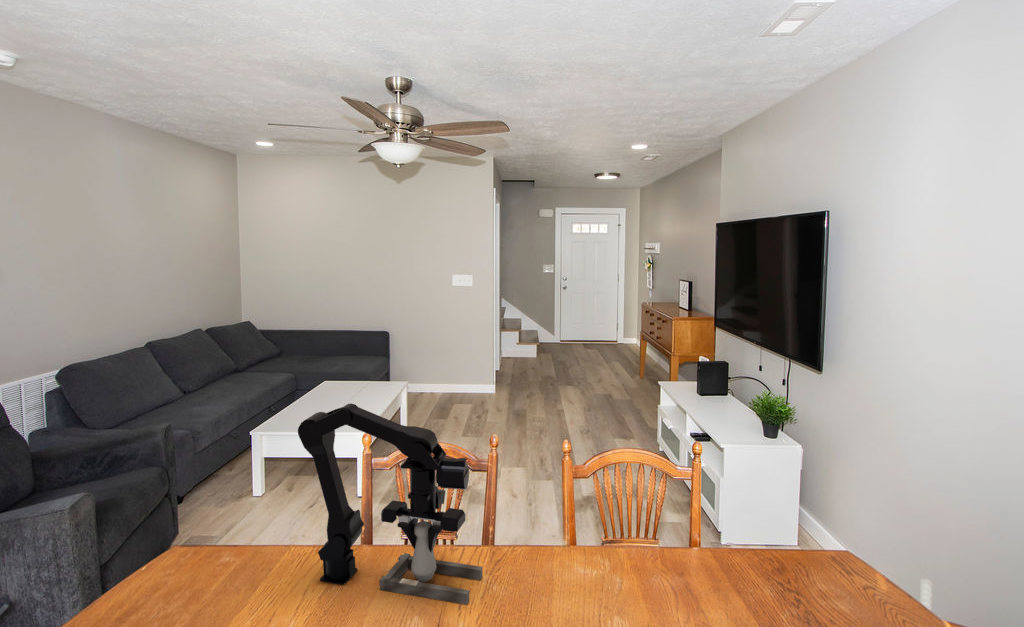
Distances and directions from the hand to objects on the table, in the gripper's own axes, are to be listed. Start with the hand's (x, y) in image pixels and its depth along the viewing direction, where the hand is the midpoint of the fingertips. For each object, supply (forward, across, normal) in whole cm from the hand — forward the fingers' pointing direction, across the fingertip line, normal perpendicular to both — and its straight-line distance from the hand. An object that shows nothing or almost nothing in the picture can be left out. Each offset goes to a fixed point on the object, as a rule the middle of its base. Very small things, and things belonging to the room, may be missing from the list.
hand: (423, 550), depth 132 cm
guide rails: (+8, -2, 0) cm, 8 cm away
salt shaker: (+7, 0, 0) cm, 7 cm away
